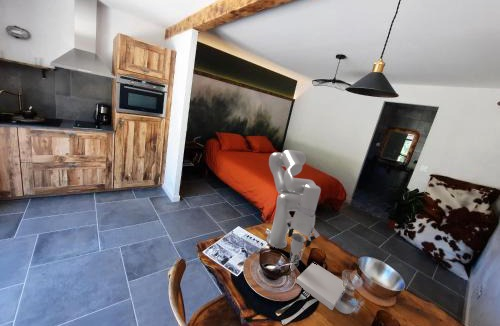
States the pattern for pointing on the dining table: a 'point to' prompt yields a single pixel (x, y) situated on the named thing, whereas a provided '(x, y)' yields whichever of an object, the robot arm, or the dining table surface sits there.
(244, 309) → the dining table surface
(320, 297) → the plinth
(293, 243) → the chalice
